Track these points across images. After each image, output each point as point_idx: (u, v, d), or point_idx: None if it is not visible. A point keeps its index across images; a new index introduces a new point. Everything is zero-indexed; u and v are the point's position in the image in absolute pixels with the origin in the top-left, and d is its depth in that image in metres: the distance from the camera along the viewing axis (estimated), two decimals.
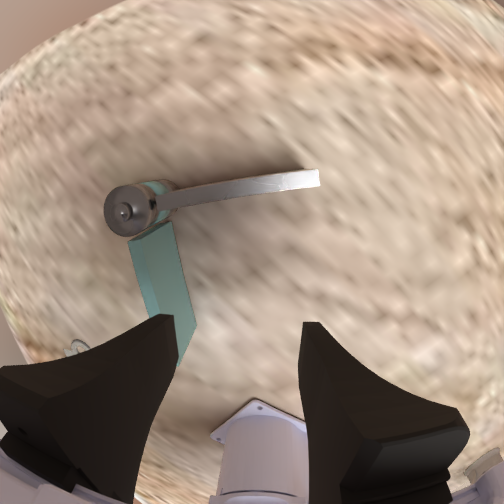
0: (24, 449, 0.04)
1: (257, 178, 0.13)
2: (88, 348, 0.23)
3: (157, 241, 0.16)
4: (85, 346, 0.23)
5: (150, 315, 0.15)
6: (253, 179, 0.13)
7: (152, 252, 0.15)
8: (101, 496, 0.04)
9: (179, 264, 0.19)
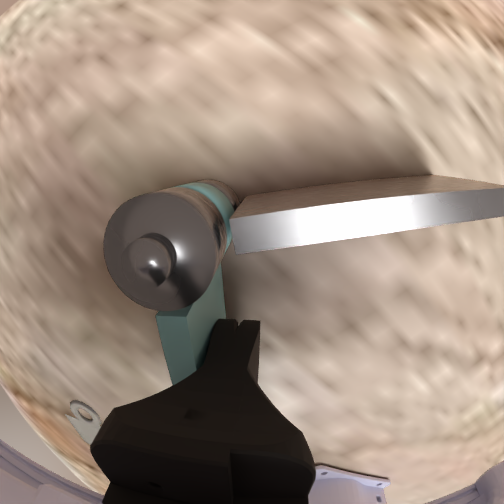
0: (145, 502, 0.03)
1: (445, 194, 0.06)
2: (93, 412, 0.16)
3: (206, 302, 0.09)
4: (89, 410, 0.15)
5: None
6: (439, 196, 0.06)
7: (201, 329, 0.08)
8: (101, 496, 0.04)
9: None
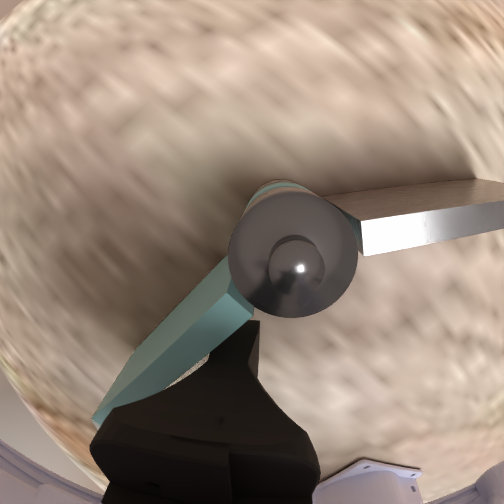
0: (144, 502, 0.03)
1: None
2: None
3: None
4: None
5: (134, 384, 0.07)
6: None
7: None
8: (101, 496, 0.04)
9: None
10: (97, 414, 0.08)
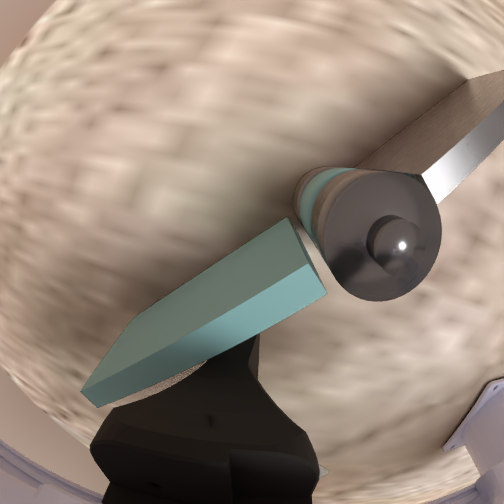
0: (145, 502, 0.03)
1: None
2: None
3: None
4: None
5: (153, 357, 0.06)
6: None
7: None
8: (101, 496, 0.04)
9: None
10: (89, 387, 0.07)
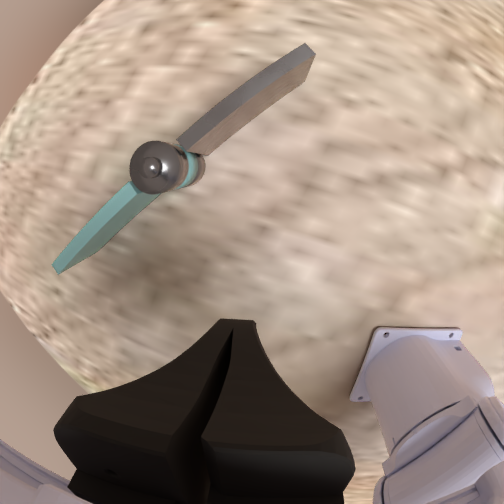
0: (106, 490, 0.03)
1: (260, 73, 0.12)
2: None
3: (144, 197, 0.15)
4: None
5: (81, 232, 0.14)
6: (257, 75, 0.12)
7: (132, 203, 0.15)
8: None
9: (137, 213, 0.18)
10: (56, 259, 0.15)
